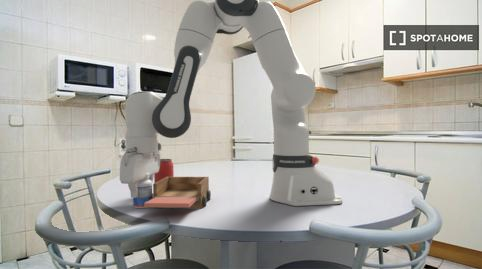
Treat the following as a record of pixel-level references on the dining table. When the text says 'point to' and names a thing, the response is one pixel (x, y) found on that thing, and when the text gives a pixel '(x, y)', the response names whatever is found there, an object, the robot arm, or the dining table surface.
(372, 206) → the dining table surface
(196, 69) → the robot arm
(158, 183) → the truck bed
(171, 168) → the beer can
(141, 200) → the pill bottle
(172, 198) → the tailgate
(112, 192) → the dining table surface
